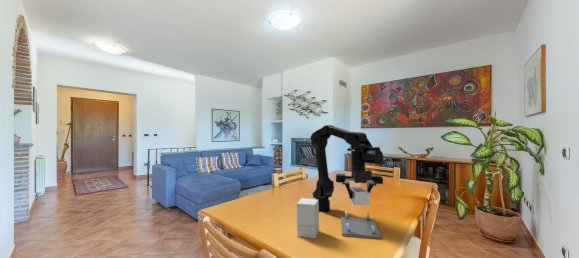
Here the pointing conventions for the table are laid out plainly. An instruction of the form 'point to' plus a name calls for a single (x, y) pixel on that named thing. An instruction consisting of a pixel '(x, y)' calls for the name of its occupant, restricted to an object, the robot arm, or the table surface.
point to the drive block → (359, 196)
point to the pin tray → (359, 227)
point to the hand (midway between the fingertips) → (358, 198)
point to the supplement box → (308, 218)
